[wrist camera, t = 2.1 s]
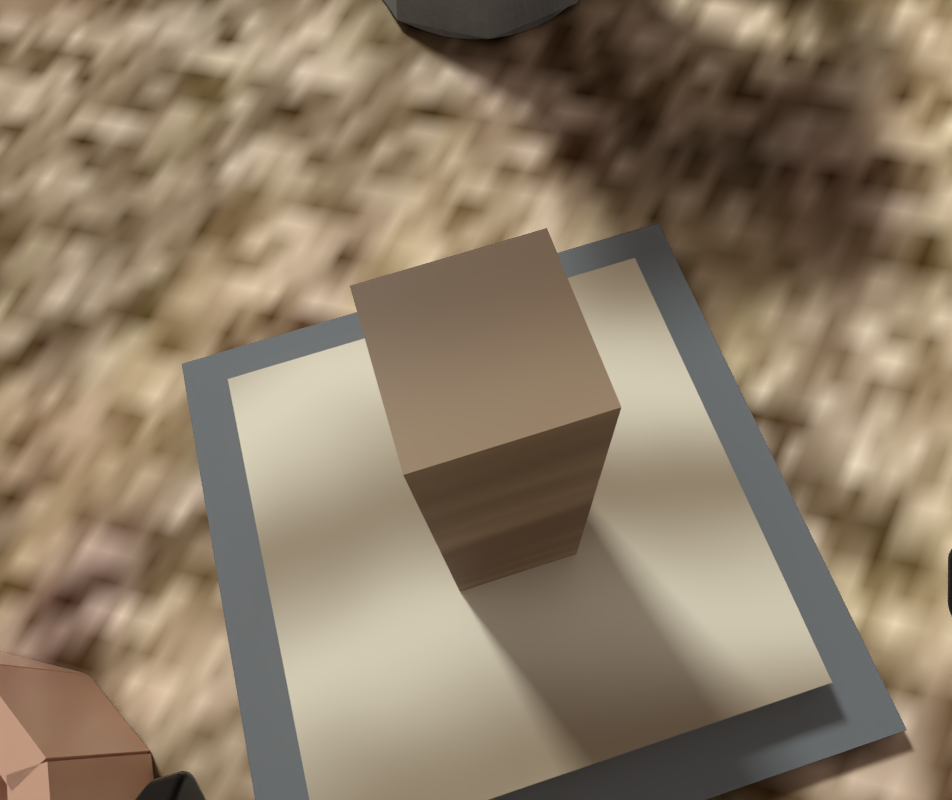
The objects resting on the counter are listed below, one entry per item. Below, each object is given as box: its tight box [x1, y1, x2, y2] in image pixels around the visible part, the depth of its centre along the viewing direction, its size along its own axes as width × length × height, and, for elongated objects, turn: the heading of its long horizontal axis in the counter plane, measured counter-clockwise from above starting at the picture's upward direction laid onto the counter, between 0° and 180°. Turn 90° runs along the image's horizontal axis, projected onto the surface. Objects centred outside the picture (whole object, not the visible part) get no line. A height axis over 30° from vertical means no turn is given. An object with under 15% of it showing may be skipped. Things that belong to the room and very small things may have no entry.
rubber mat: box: [182, 224, 907, 800], centre depth 21 cm, size 15×15×1 cm
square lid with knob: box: [228, 228, 832, 800], centre depth 15 cm, size 12×12×10 cm
